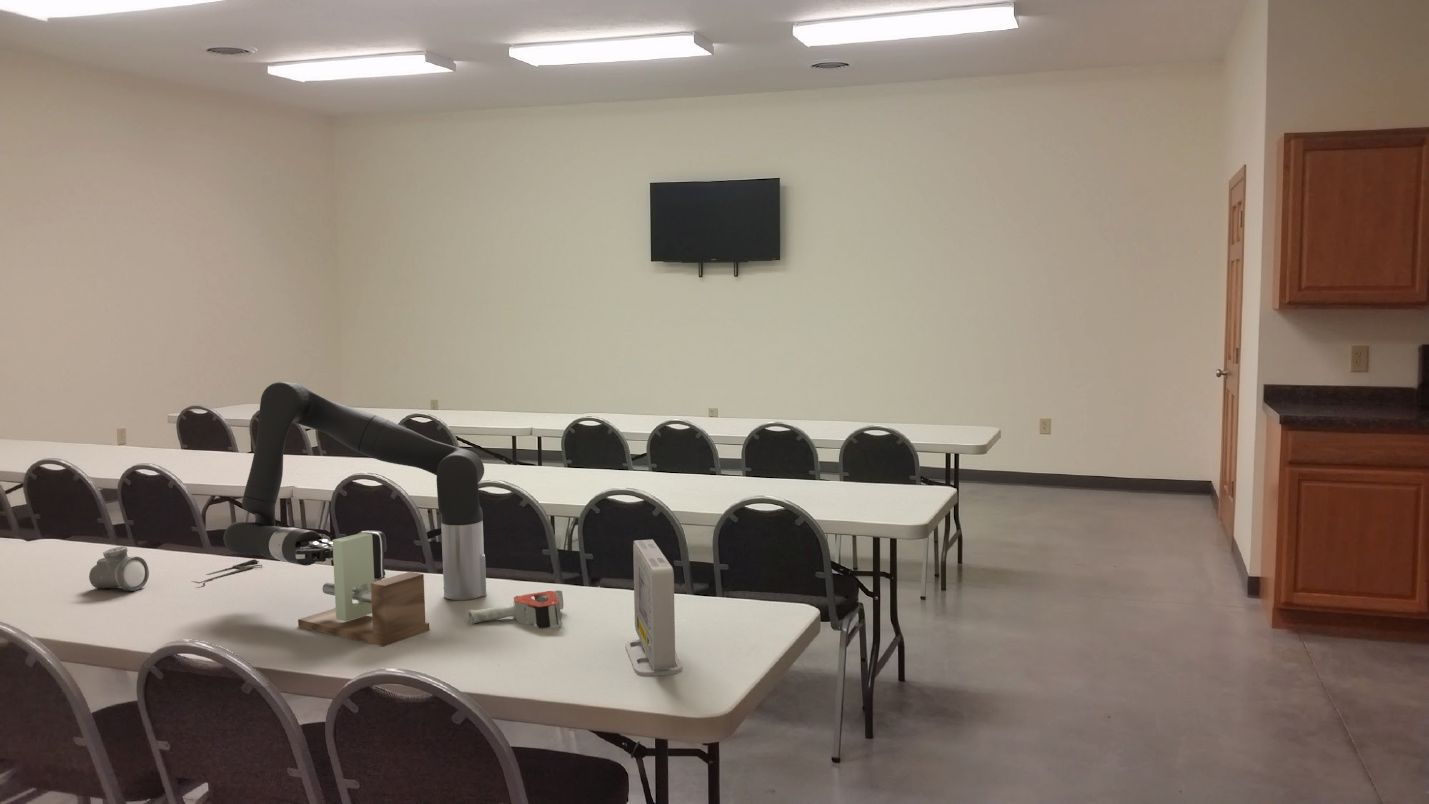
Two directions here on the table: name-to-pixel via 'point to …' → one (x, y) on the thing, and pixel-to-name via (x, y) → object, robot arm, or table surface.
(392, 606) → the base board
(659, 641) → the network device
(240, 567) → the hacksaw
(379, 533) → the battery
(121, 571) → the pipe fitting
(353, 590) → the pipe
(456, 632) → the table surface
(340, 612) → the pale green tall slab
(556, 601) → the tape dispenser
